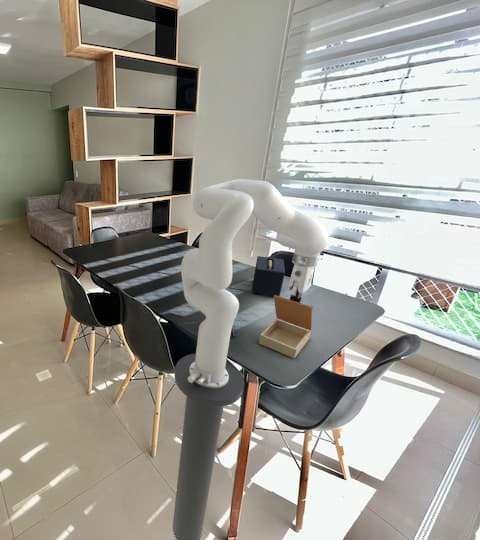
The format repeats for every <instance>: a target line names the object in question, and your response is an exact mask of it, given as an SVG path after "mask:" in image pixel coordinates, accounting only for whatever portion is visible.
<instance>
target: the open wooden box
mask: <svg viewBox="0 0 480 540" xmlns="http://www.w3.org/2000/svg"><path fill="white" fill-rule="evenodd" d="M311 333H312V330H311V331H310V330H307V329H304V328H302V327H299V326H296V325H293V324H291V323H288V322H285V321H282V320H280V319H277V318H276V319H275V320H273V321H272V323H270V325H268V326H267V327H266V328H265V329H264V330H263V331H262V332H261V333H260V334H259V338H258V341H257V343H258V344H260V345H262V346H264V347H267V348H269V349H271V350H273V351H276V352H278V353H280V354H282V355H285V356H287V357H289V358H292V359H295V358H296V357H297V356H298V354H299V353H300V352H301V351H302V349H303V348H304V346H305V345H306V344H307V343H308V341H309V340H310V337H311Z"/></svg>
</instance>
